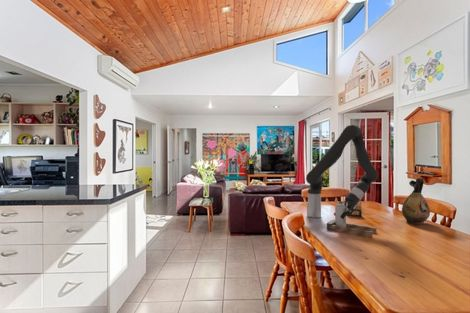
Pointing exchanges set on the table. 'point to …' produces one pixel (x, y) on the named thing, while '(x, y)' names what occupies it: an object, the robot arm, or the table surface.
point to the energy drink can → (338, 212)
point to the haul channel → (352, 229)
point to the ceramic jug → (416, 204)
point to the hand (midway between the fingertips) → (338, 216)
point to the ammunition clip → (359, 211)
